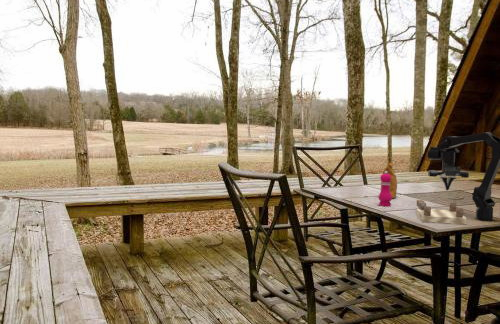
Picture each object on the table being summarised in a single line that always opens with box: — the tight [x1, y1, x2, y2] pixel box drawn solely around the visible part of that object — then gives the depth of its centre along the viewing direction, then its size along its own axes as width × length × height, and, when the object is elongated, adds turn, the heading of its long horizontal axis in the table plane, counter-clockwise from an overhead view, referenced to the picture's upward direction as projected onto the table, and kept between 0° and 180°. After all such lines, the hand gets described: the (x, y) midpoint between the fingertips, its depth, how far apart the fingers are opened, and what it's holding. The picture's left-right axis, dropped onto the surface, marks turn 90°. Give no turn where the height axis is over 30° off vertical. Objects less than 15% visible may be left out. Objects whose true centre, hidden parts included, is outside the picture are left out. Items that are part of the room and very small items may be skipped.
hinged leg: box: [416, 199, 427, 210], centre depth 218 cm, size 12×3×3 cm, turn 166°
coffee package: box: [380, 162, 398, 199], centre depth 266 cm, size 10×12×22 cm
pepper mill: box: [378, 171, 393, 207], centre depth 239 cm, size 7×7×20 cm
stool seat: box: [416, 202, 467, 225], centre depth 205 cm, size 19×19×7 cm
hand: (447, 190), depth 219 cm, fingers closed
